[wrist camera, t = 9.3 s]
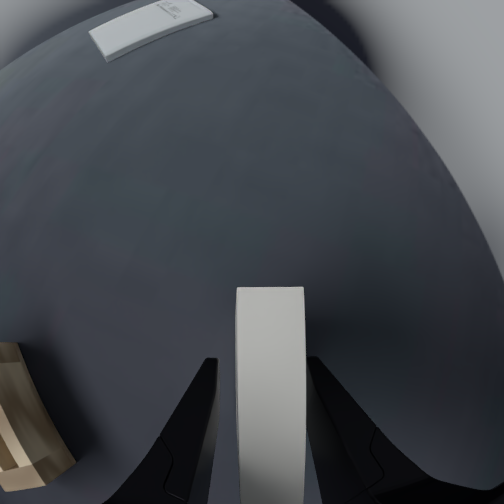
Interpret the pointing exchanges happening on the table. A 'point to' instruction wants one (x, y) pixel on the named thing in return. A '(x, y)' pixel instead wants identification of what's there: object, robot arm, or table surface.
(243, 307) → the cover plate
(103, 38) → the external hard drive
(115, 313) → the table surface
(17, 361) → the oak box
